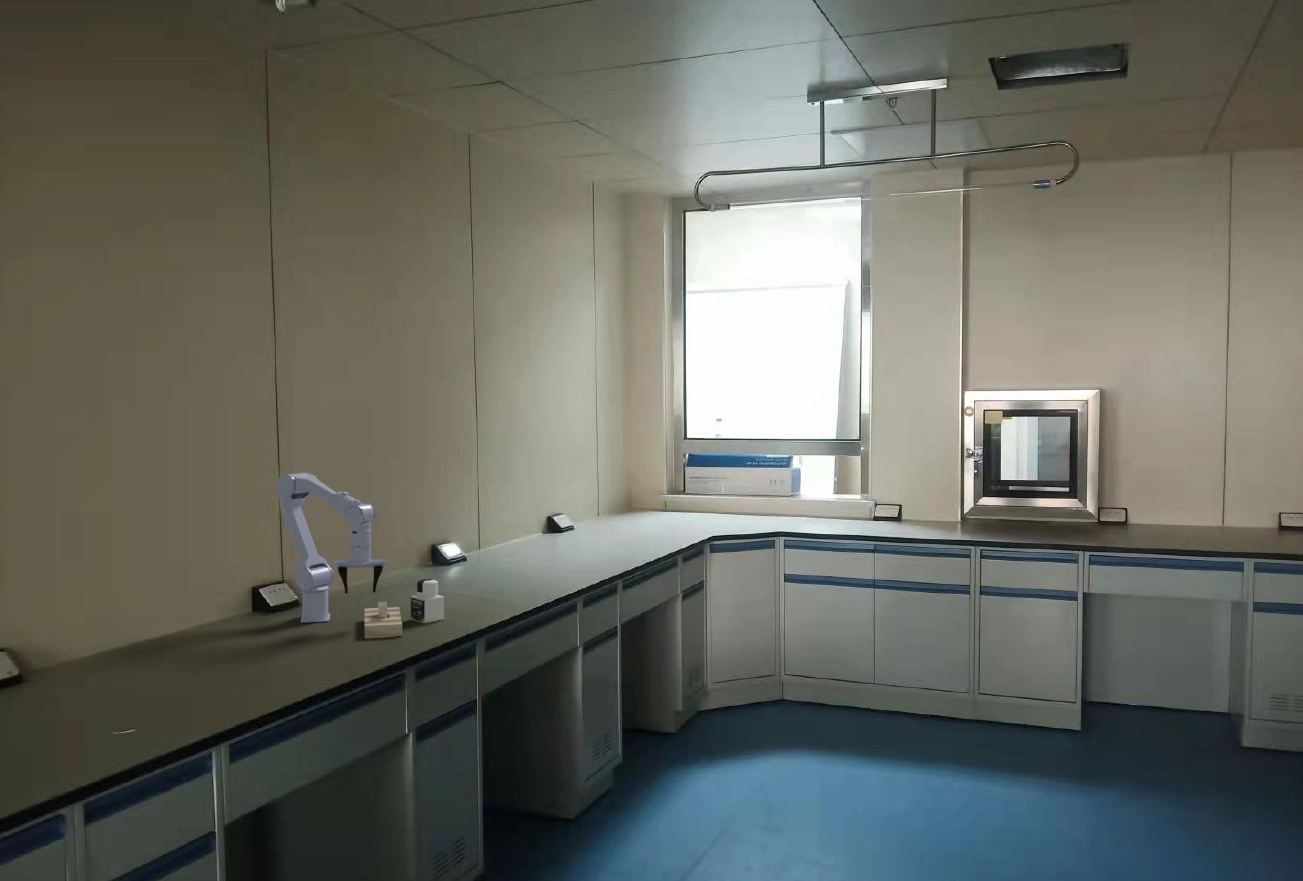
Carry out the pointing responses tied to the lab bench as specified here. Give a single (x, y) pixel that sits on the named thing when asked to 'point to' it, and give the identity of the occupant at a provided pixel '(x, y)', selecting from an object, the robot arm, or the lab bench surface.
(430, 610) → the medicine bottle
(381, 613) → the grey rectangular prism
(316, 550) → the robot arm
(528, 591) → the lab bench surface
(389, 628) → the beige slab
